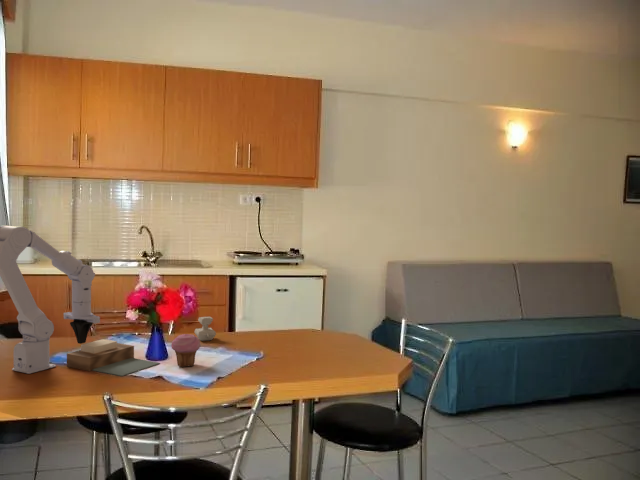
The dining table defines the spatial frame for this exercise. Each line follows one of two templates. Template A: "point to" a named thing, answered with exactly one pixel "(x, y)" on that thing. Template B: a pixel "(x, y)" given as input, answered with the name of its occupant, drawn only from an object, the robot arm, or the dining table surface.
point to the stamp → (205, 329)
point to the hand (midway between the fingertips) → (81, 342)
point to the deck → (99, 357)
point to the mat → (126, 366)
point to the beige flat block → (98, 346)
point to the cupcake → (185, 349)
